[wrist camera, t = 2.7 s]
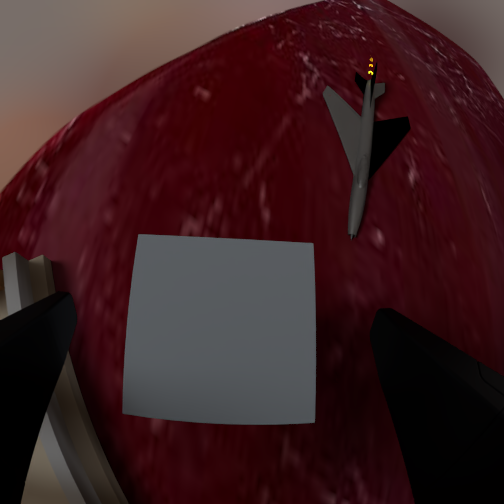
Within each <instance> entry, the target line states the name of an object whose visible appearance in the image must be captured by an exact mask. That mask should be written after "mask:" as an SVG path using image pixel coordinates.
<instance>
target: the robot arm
mask: <svg viewBox="0 0 504 504" xmlns="http://www.w3.org/2000/svg"><path fill="white" fill-rule="evenodd" d="M76 324H77V314H76V310H75V306H74V302H73V298H72V295H71V294H70V293H69V292H61V291H58V292H56V293H54V294H51V295H49V296H47V297H45V298H43V299H41V300H39V301H37V302H35V303H33V304H31V305H29V306H27V307H25V308H23V309H21V310H19V311H17V312H15V313H13V314H11V315H9V316H7V317H5V318H3V319H1V320H0V504H21V501H22V496H23V492H24V487H25V482H26V478H27V475H28V471H29V467H30V463H31V460H32V456H33V452H34V449H35V446H36V442H37V439H38V436H39V433H40V429H41V426H42V423H43V420H44V417H45V414H46V411H47V409H48V406H49V403H50V400H51V397H52V395H53V392H54V389H55V387H56V384H57V381H58V379H59V376H60V374H61V371H62V368H63V366H64V363H65V360H66V357H67V353H68V350H69V346H70V343H71V340H72V336H73V333H74V330H75V327H76ZM370 340H371V345H372V349H373V353H374V358H375V362H376V367H377V371H378V376H379V380H380V383H381V386H382V389H383V392H384V395H385V398H386V401H387V405H388V408H389V411H390V414H391V417H392V421H393V424H394V427H395V431H396V434H397V437H398V441H399V444H400V448H401V451H402V455H403V458H404V462H405V466H406V469H407V473H408V477H409V481H410V485H411V489H412V493H413V497H414V502H415V504H504V376H502V375H500V374H499V373H497V372H495V371H494V370H492V369H490V368H489V367H487V366H485V365H484V364H482V363H481V362H479V361H478V362H477V360H476V359H474V358H472V357H471V356H469V355H468V354H466V353H464V352H463V351H461V350H459V349H458V348H456V347H455V346H453V345H451V344H450V343H448V342H446V341H445V340H443V339H442V338H440V337H438V336H437V335H435V334H433V333H432V332H430V331H428V330H427V329H425V328H423V327H422V326H420V325H418V324H417V323H415V322H413V321H412V320H410V319H408V318H407V317H405V316H403V315H402V314H400V313H398V312H397V311H395V310H393V309H391V308H380V309H379V310H378V311H377V312H376V315H375V318H374V321H373V324H372V327H371V330H370Z"/></svg>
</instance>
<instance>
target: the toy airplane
mask: <svg viewBox="0 0 504 504" xmlns="http://www.w3.org/2000/svg"><path fill="white" fill-rule="evenodd" d="M370 61H371V60H370ZM372 61H373V60H372ZM370 65H372V64H370ZM370 65H369V66H370ZM372 67H373V65H372ZM369 72H372V71H369ZM376 72H377V63H376V66H375V69H374V73H373V72H372V74H373V76H372V79H371V80H368V81H367V80H365V79H364V78H363V77H361V76H360V75H359V74H358V73H357V72H356V76H355V82H356V83H357V85H358V86H359V88H360V89H361V91H362V93H363V94H364V97H363V106H362V115H361V117H360V116H359V115H358V114H357V113H356V112H355V111H354V110H353V109H352V108H351V107H350V106H349V105H348V104H347V103H346V102H345V101H344V100H343V99H342V98H341V97H340V96H339V95H338V94H337V93H336V92H334V91H333V90H332V89H331V88H330V87H329V86H327V88H326V89H325V91H324V93H323V96H324V99H325V101H326V103H327V106H328V108H329V111H330V113H331V116H332V118H333V121H334V123H335V126H336V128H337V131H338V133H339V136H340V139H341V141H342V144H343V147H344V149H345V152H346V155H347V158H348V160H349V163H350V166H351V169H352V172H353V175H354V177H353V184H352V190H351V197H350V205H349V218H348V235H349V234H351V239H352V237H353V234H354V235H355V237H356V235H357V232H358V229H359V226H360V222H361V219H362V215H363V211H364V206H365V200H366V193H367V185H368V180H369V179H370V178H371V176H372V175H373V174H374V173H375V172H376V170H377V169H378V168H379V167H380V165H381V164H382V163H383V162H384V161H385V159H386V158H387V157H388V156H389V154H390V153H391V152H392V151H393V149H394V148H395V147H396V146H397V144H398V143H399V142H400V141H401V139H402V138H403V137H404V136H405V134H406V133H407V132H408V131H409V129H410V124H409V120H408V117H401V118H395V119H389V120H383V121H377V122H374V107H375V98H377V97H378V96H380V95H382V94H383V93H385V83H379V84H375V79H376Z"/></svg>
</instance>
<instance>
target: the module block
mask: <svg viewBox="0 0 504 504" xmlns="http://www.w3.org/2000/svg"><path fill="white" fill-rule="evenodd" d="M315 396H316V309H315V273H314V249H313V243H298V242H281V241H263V240H244V239H225V238H206V237H186V236H164V235H142V234H139V235H138V241H137V248H136V254H135V261H134V268H133V276H132V284H131V292H130V301H129V310H128V321H127V332H126V345H125V360H124V380H123V414H129V415H136V416H143V417H150V418H158V419H166V420H176V421H187V422H200V423H217V424H252V425H265V424H300V423H315Z"/></svg>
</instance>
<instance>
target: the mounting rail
mask: <svg viewBox="0 0 504 504" xmlns="http://www.w3.org/2000/svg"><path fill="white" fill-rule="evenodd" d="M2 259H3V271H2V270H1V269H0V320H1V319H3V318H5V317H7V316H9V315H11V314H13V313H15V312H17V311H19V310H21V309H23V308H25V307H27V306H29V305H31V304H33V303H35V302H37V301H39V300H41V299H43V298H45V297H47V296H49V295H51V294H54V293H56V292H55V286H54V280H53V273H52V267H51V260H49V259H48V258H46V257H45V256H44V255H41V256H39V257H37V258H34V259H32V260H29V261H28V260H26V259H25V258H23V257H22V256H20V255H19V254H18V253H16V252H14V253H11V254H9V255H7V256H5V257H3V258H2ZM21 504H129V503H128V501H127V499H126V497H125V495H124V494H123V492H122V490H121V488H120V486H119V484H118V482H117V480H116V478H115V476H114V474H113V472H112V469H111V467H110V465H109V463H108V461H107V459H106V456H105V454H104V452H103V449H102V447H101V445H100V442H99V440H98V438H97V435H96V433H95V430H94V428H93V425H92V422H91V420H90V417H89V414H88V412H87V409H86V406H85V403H84V400H83V397H82V394H81V391H80V388H79V385H78V382H77V379H76V375H75V372H74V369H73V365H72V362H71V358H70V354H69V351H68V353H67V357H66V360H65V363H64V366H63V368H62V371H61V374H60V376H59V379H58V381H57V384H56V387H55V389H54V392H53V395H52V397H51V400H50V403H49V406H48V409H47V411H46V414H45V417H44V420H43V423H42V426H41V429H40V433H39V436H38V439H37V442H36V446H35V449H34V452H33V456H32V460H31V463H30V467H29V471H28V475H27V478H26V482H25V487H24V492H23V496H22V501H21Z"/></svg>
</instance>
